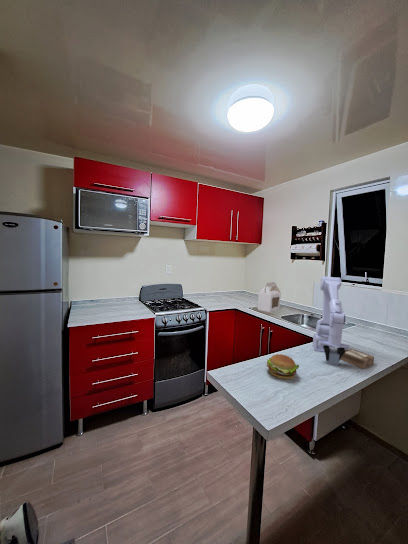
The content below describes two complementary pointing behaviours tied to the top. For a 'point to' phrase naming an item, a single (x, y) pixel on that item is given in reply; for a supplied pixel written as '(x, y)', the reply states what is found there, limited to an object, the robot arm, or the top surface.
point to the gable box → (269, 298)
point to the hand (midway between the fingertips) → (332, 360)
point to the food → (282, 366)
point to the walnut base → (357, 358)
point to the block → (333, 358)
